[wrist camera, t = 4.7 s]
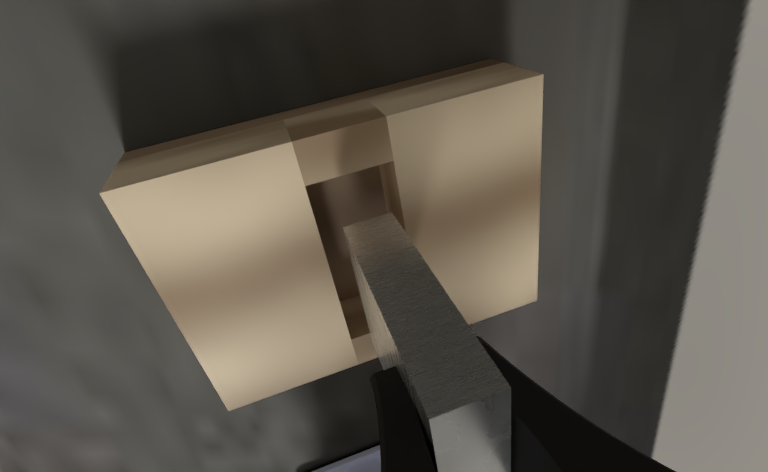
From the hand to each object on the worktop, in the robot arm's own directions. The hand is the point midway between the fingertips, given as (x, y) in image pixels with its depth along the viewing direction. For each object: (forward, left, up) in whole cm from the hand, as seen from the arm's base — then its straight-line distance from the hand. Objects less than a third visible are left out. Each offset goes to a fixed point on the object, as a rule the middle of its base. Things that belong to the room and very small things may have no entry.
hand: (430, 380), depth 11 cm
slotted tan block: (0, 0, -9) cm, 9 cm away
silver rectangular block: (0, 0, -4) cm, 4 cm away
